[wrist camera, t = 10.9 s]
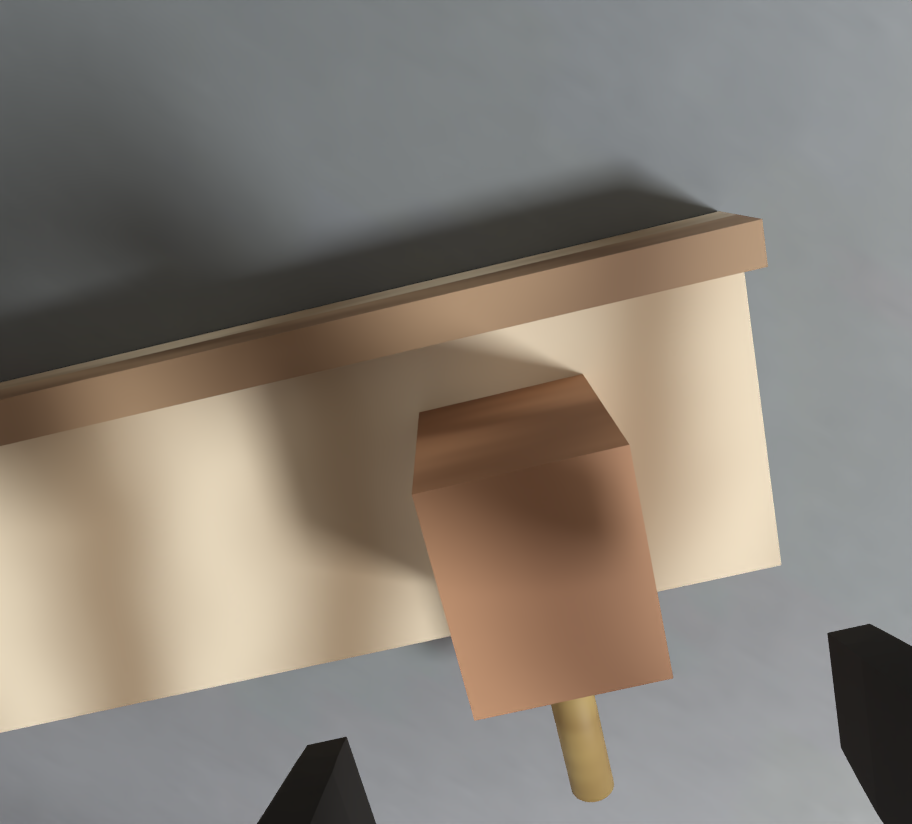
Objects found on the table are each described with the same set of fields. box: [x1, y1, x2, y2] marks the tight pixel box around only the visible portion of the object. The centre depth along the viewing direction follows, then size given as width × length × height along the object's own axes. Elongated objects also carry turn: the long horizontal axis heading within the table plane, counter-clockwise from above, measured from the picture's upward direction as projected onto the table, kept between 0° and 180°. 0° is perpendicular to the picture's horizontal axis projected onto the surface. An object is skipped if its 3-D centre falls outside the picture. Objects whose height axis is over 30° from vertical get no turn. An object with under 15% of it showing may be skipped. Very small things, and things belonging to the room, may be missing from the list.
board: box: [0, 211, 781, 733], centre depth 20 cm, size 22×9×3 cm, turn 103°
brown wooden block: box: [412, 374, 673, 802], centre depth 18 cm, size 4×9×5 cm, turn 14°
